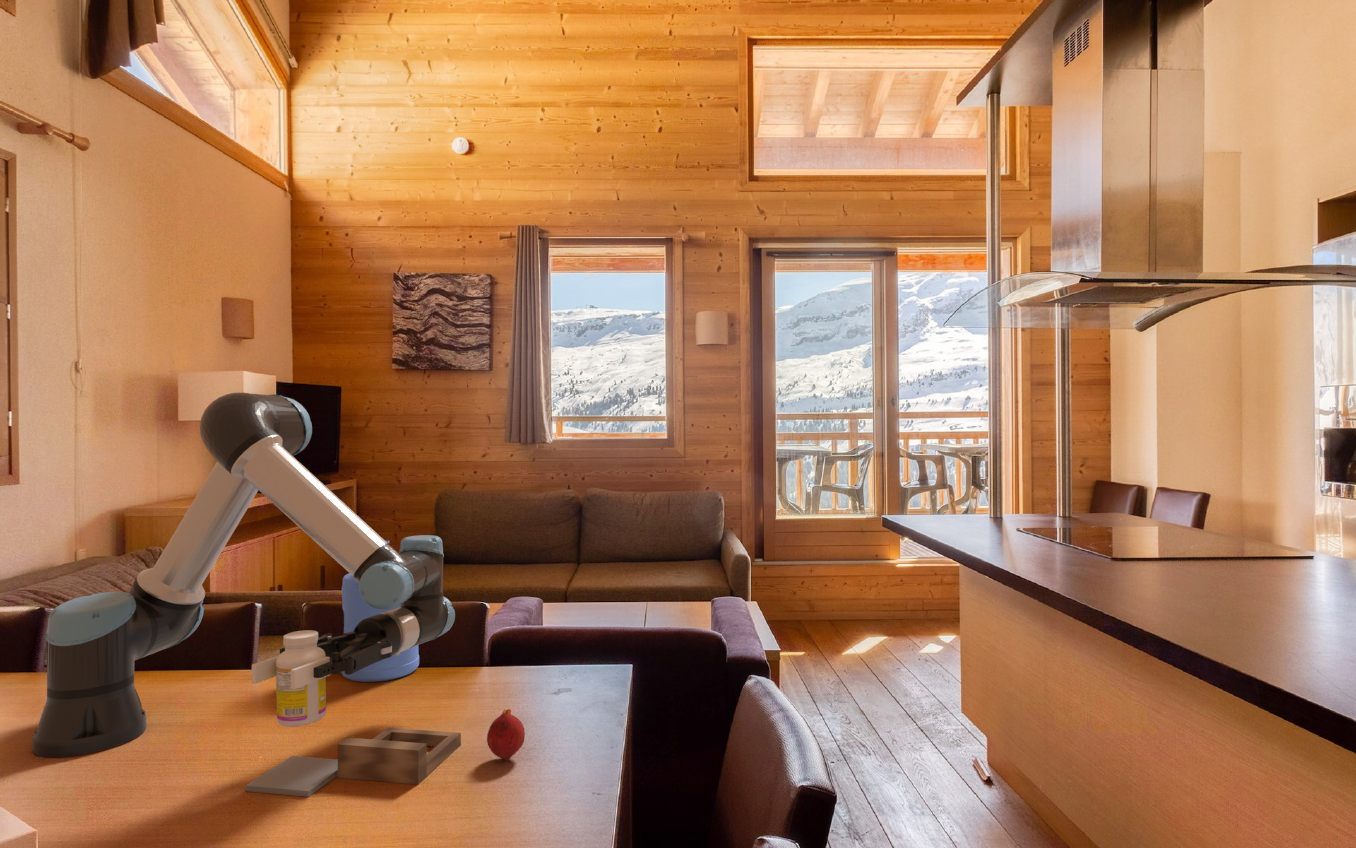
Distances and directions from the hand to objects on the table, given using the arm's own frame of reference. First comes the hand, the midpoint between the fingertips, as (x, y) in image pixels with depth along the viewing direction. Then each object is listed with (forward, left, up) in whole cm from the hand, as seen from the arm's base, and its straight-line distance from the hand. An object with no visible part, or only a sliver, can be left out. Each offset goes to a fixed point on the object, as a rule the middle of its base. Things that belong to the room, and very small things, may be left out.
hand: (273, 676), depth 107 cm
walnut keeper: (+13, +13, -17) cm, 25 cm away
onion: (+29, +16, -17) cm, 37 cm away
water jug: (-15, +53, -17) cm, 57 cm away
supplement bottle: (+1, +5, -8) cm, 10 cm away
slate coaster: (+1, +5, -17) cm, 17 cm away
